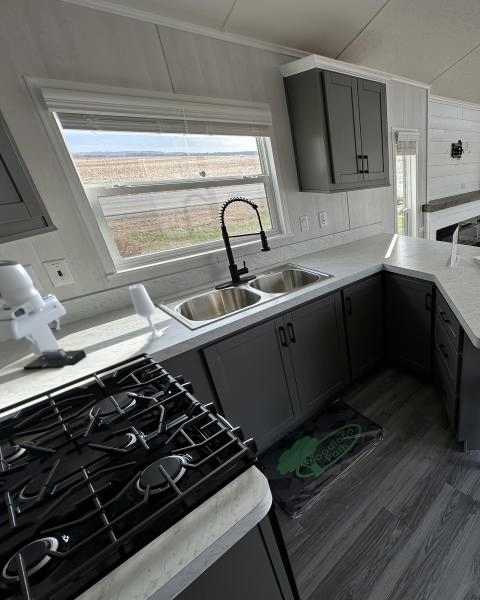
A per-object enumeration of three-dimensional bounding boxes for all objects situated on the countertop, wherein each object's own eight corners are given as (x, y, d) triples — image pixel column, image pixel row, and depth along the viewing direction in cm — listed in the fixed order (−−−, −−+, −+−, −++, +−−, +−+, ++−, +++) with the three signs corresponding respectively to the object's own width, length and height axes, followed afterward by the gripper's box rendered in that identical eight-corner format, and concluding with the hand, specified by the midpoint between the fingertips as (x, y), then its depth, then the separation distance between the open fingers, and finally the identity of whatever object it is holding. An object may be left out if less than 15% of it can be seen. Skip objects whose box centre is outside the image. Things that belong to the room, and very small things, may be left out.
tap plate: (25, 374, 123) (21, 367, 121) (52, 357, 133) (48, 350, 131) (63, 372, 123) (59, 365, 122) (87, 355, 133) (84, 348, 132)
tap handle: (45, 359, 126) (40, 351, 124) (49, 357, 127) (44, 349, 126) (64, 358, 126) (59, 350, 124) (67, 356, 127) (63, 348, 126)
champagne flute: (159, 339, 143) (139, 289, 133) (143, 340, 143) (121, 290, 132) (168, 331, 149) (149, 282, 139) (152, 332, 149) (132, 283, 138)
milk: (34, 355, 134) (5, 307, 125) (52, 347, 140) (25, 301, 130) (44, 357, 133) (14, 309, 123) (62, 349, 138) (35, 302, 128)
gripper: (44, 292, 126) (61, 323, 132) (-14, 318, 108) (9, 353, 114) (60, 291, 126) (77, 323, 132) (5, 317, 108) (28, 352, 114)
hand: (45, 337), depth 123 cm, fingers open, 8 cm apart
